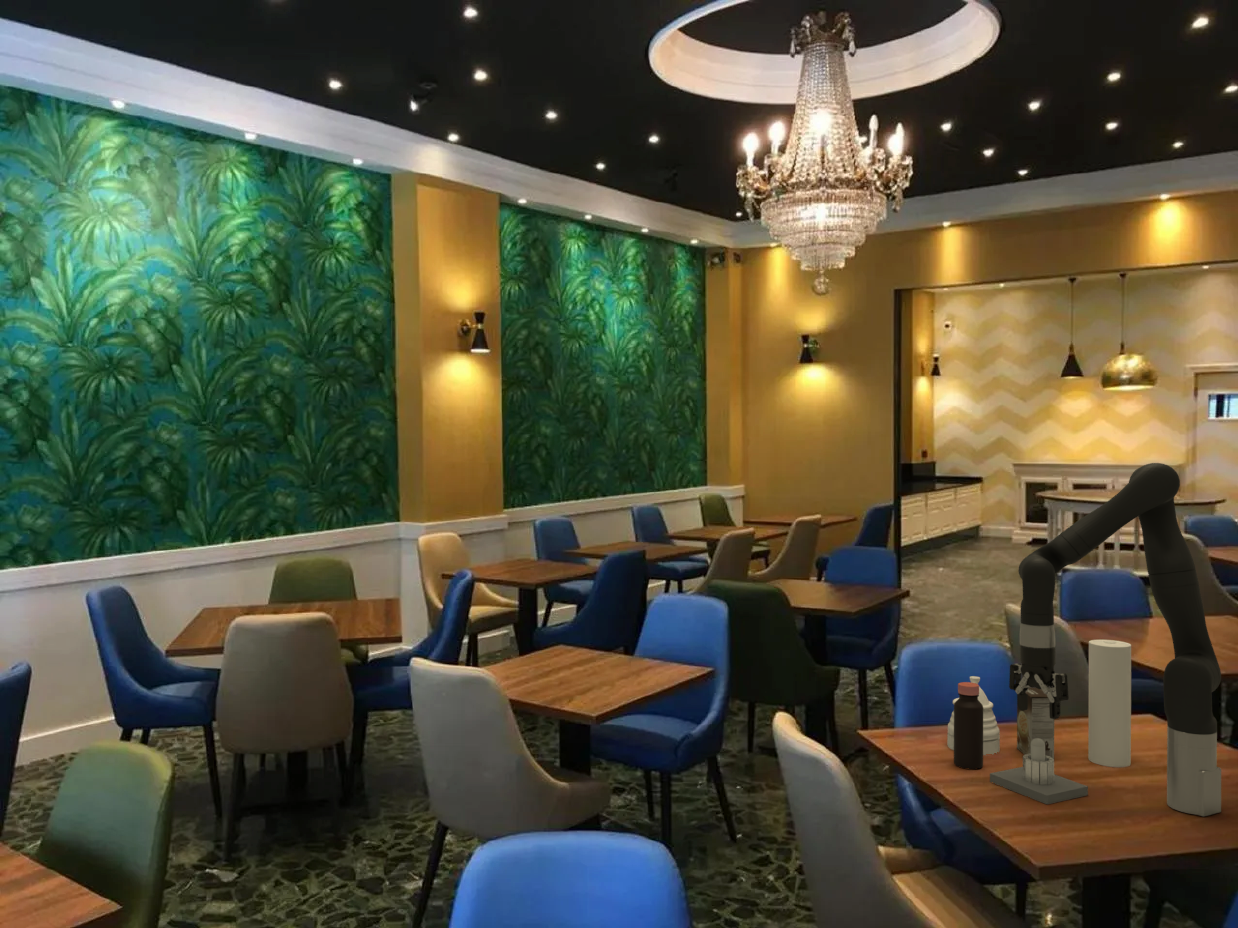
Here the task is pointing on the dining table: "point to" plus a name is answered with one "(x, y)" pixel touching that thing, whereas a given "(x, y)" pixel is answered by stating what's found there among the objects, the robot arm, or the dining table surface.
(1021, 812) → the dining table surface
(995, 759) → the dining table surface
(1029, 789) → the piston block
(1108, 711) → the cylinder container
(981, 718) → the bottle
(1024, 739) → the coffee box
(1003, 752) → the dining table surface
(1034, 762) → the ring
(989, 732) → the honey pot
